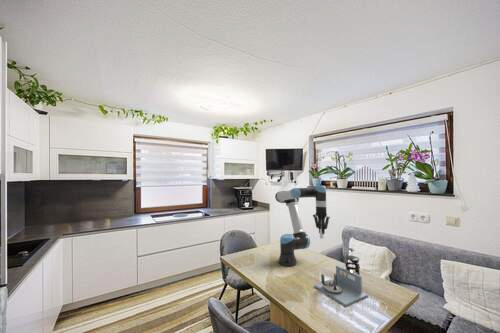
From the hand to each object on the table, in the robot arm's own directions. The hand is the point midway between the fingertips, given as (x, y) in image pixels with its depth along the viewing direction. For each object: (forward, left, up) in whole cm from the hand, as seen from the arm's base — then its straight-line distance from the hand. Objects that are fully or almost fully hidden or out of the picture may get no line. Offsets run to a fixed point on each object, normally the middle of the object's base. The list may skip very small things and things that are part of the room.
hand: (321, 238), depth 149 cm
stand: (+19, -6, -28) cm, 34 cm away
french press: (+16, +12, -28) cm, 35 cm away
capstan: (+16, -9, -27) cm, 32 cm away
